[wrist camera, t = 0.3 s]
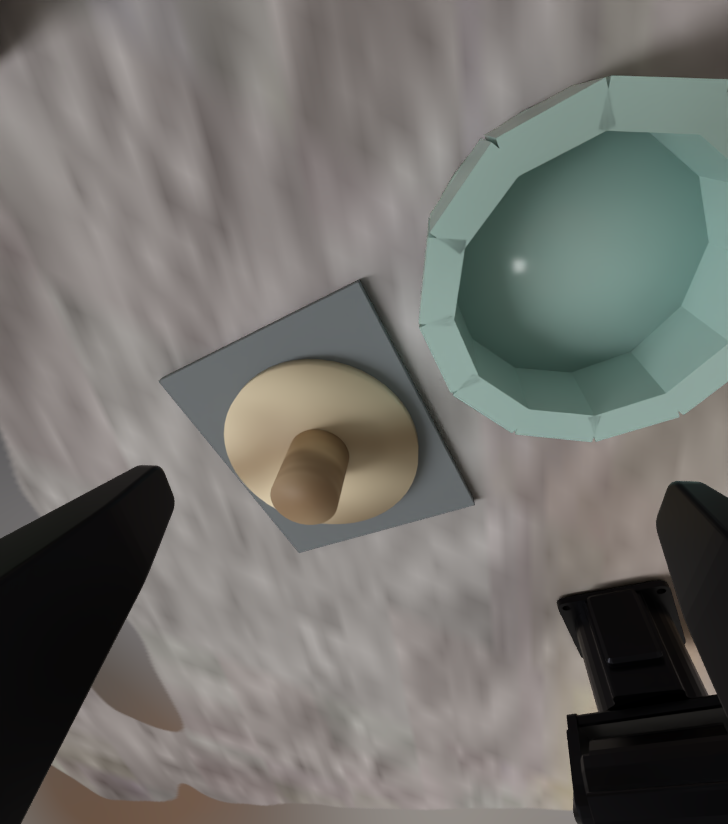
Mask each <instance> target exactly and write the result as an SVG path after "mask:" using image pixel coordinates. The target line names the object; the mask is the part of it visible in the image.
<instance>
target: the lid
mask: <svg viewBox="0 0 728 824" xmlns="http://www.w3.org/2000/svg"><path fill="white" fill-rule="evenodd" d="M224 441H225V447H226V451H227V455H228V457H229V460H230V462H231V465H232V466H233V468H234V470H235V472H236V473H237V475H238V476H239V478H240V479H241V480H242V482H243V483H244V484H245V485H246V486H247V487H248V488H249V489H250V490H251V491H252V492H253V493H254V494H255V495H256V496H257V497H259V498H260V499H261V500H263V501H264V502H265V503H267V504H268V505H270V506H272V507H274V508H275V509H276V510H277V511H278V512H279V513H280V514H281V515H283V516H284V517H285V518H287V519H289V520H291V521H293V522H296V523H300V524H305V525H316V524H321V523H322V524H348V523H355V522H360V521H364V520H367V519H370V518H373V517H376V516H378V515H380V514H382V513H384V512H385V511H387V510H388V509H390V508H391V507H393V506H394V505H395V504H396V503H397V502H399V501H400V500H401V499H402V497H403V496H404V495H405V494H406V493H407V491H408V490H409V488H410V486H411V485H412V483H413V480H414V478H415V475H416V471H417V466H418V448H419V445H418V436H417V432H416V428H415V425H414V423H413V420H412V418H411V416H410V414H409V412H408V411H407V409H406V407H405V406H404V404H403V403H402V402H401V401H400V399H399V398H398V397H397V396H396V395H395V394H394V393H393V392H392V391H391V390H390V389H389V388H388V387H387V386H386V385H384V384H383V383H382V382H380V381H379V380H377V379H376V378H374V377H373V376H371V375H369V374H367V373H365V372H364V371H362V370H359V369H357V368H354V367H352V366H349V365H346V364H342V363H339V362H335V361H329V360H322V359H301V360H292V361H288V362H283V363H280V364H277V365H274V366H272V367H269V368H267V369H266V370H264V371H262V372H260V373H258V374H257V375H256V376H255V377H253V378H252V379H251V380H250V381H249V382H248V383H247V384H246V385H245V386H244V387H243V388H242V389H241V391H240V392H239V394H238V395H237V397H236V398H235V400H234V401H233V403H232V404H231V406H230V408H229V411H228V413H227V416H226V420H225V426H224Z"/></svg>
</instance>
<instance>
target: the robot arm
mask: <svg viewBox="0 0 728 824" xmlns="http://www.w3.org/2000/svg"><path fill="white" fill-rule="evenodd" d="M173 509H174V496H173V493H172V491H171V488H170V486H169V483H168V480H167V478H166V475H165V473H164V471H163V469H162V468H161V467H159V466H152V465H140V466H136V467H134V468H132V469H131V470H129V471H127V472H125V473H123V474H121V475H119V476H117V477H115V478H114V479H112V480H110V481H108V482H106V483H104V484H102V485H100V486H99V487H97V488H95V489H93V490H91V491H89V492H87V493H85V494H83V495H82V496H80V497H78V498H76V499H74V500H72V501H70V502H68V503H66V504H65V505H63V506H61V507H59V508H57V509H55V510H53V511H51V512H50V513H48V514H46V515H44V516H42V517H40V518H38V519H36V520H35V521H33V522H31V523H29V524H27V525H25V526H23V527H21V528H19V529H17V530H16V531H14V532H12V533H10V534H8V535H6V536H4V537H3V538H1V539H0V824H21V823H22V821H23V819H24V817H25V815H26V813H27V811H28V809H29V807H30V805H31V803H32V801H33V799H34V797H35V795H36V793H37V792H38V789H39V788H40V786H41V784H42V782H43V780H44V778H45V776H46V774H47V772H48V770H49V768H50V766H51V764H52V762H53V760H54V758H55V756H56V754H57V753H58V751H59V749H60V747H61V745H62V743H63V741H64V739H65V737H66V735H67V733H68V731H69V729H70V727H71V725H72V723H73V721H74V719H75V717H76V716H77V714H78V712H79V710H80V708H81V706H82V704H83V702H84V700H85V698H86V696H87V694H88V692H89V690H90V688H91V686H92V684H93V682H94V680H95V678H96V677H97V675H98V673H99V671H100V669H101V667H102V665H103V663H104V661H105V659H106V657H107V655H108V653H109V651H110V649H111V647H112V645H113V643H114V641H115V640H116V638H117V636H118V633H119V632H120V630H121V628H122V626H123V624H124V622H125V620H126V618H127V616H128V614H129V612H130V610H131V608H132V606H133V604H134V602H135V601H136V599H137V597H138V595H139V593H140V591H141V589H142V586H143V584H144V582H145V580H146V578H147V575H148V573H149V571H150V569H151V566H152V563H153V561H154V558H155V556H156V553H157V551H158V548H159V546H160V543H161V541H162V538H163V535H164V533H165V530H166V528H167V525H168V523H169V520H170V518H171V515H172V512H173ZM656 528H657V533H658V536H659V540H660V543H661V546H662V549H663V553H664V556H665V559H666V562H667V565H668V569H669V572H670V575H671V578H672V582H673V585H674V588H675V591H676V595H677V598H678V601H679V604H680V607H681V610H682V613H683V616H684V619H685V621H686V624H687V626H688V629H689V631H690V634H691V636H692V638H693V641H694V643H695V645H696V647H697V650H698V652H699V654H700V657H701V659H702V661H703V663H704V666H705V668H706V670H707V672H708V675H709V677H710V679H711V682H712V684H713V686H714V688H715V691H716V693H717V694H716V695H708V693H707V691H706V689H705V687H704V685H703V683H702V681H701V679H700V676H699V674H698V672H697V670H696V668H695V666H694V664H693V662H692V660H691V658H690V656H689V654H688V651H687V649H686V647H685V645H684V644H685V643H686V641H685V637H684V634H683V630H682V627H681V624H680V620H679V617H678V613H677V610H676V606H675V603H674V599H673V596H672V592H671V589H670V587H669V585H668V583H667V582H665V581H662V580H657V581H652V582H646V583H641V584H635V585H630V586H625V587H619V588H614V589H608V590H603V591H598V592H592V593H587V594H581V595H576V596H571V597H565V598H561V599H559V600H558V601H557V606H558V610H559V612H560V614H561V616H562V618H563V620H564V622H565V624H566V626H567V628H568V631H569V633H570V635H571V637H572V639H573V641H574V643H575V645H576V647H577V649H578V651H579V654H580V656H581V657H582V658H583V659H584V663H585V666H586V670H587V673H588V677H589V680H590V684H591V688H592V691H593V695H594V698H595V702H596V705H597V709H598V712H595V713H589V714H582V715H577V714H569V715H567V724H568V730H567V740H568V749H569V757H570V766H571V775H572V783H573V813H574V817H575V820H576V822H577V824H728V498H727V497H726V496H724V495H722V494H721V493H719V492H717V491H716V490H714V489H712V488H711V487H709V486H707V485H706V484H704V483H701V482H691V481H675V482H672V483H671V484H670V485H669V486H668V488H667V491H666V493H665V496H664V499H663V502H662V504H661V507H660V510H659V513H658V515H657V520H656Z"/></svg>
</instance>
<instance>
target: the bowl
mask: <svg viewBox="0 0 728 824" xmlns="http://www.w3.org/2000/svg"><path fill="white" fill-rule="evenodd" d="M484 136H485V139H481V138H480V140H479V141H478V143H477V144H476V146H475V147H474V149H473V150H472V152H471V153H470V154H469V155H468V156H467V157H466V159H465V160H464V161H463V163H462V164H461V165H460V167H459V168H458V169H457V171H456V172H455V173H454V175H453V176H452V178H451V180H450V181H449V183H448V185H447V187H446V188H445V190H444V192H443V193H442V196H441V198H440V200H439V201H438V203H437V204H436V206H435V207H434V209H433V210H432V212H431V213H430V218H429V220H428V230H427V239H426V248H425V258H424V268H423V277H422V287H421V298H420V312H419V324H420V326H419V328H420V330H421V332H422V334H423V336H424V339H425V341H426V343H427V345H428V347H429V349H430V351H431V353H432V355H433V357H434V359H435V361H436V363H437V365H438V368H439V370H440V372H441V374H442V376H443V378H444V380H445V382H446V384H447V386H448V388H449V390H450V392H451V393H452V392H453V396H455V397H456V398H458V399H459V400H461V401H462V402H464V403H466V404H467V405H469V406H470V407H472V408H473V409H475V410H477V411H478V412H480V413H481V414H483V415H484V416H486V417H487V418H489V419H491V420H492V421H494V422H495V423H497V424H498V425H500V426H502V427H503V428H505V429H506V430H508V431H509V432H511V433H513V432H514V431H515V434H517V435H526V436H536V437H546V438H556V439H566V440H576V441H586V442H592V440H593V437H594V439H595V441H600V440H603V439H607V438H610V437H613V436H617V435H620V434H624V433H627V432H630V431H634V430H637V429H641V428H644V427H647V426H651V425H654V424H658V423H661V422H664V421H668V420H671V419H675V418H678V417H679V413H678V411H679V412H680V413H682V414H683V415H684V414H686V413H687V412H688V411H690V410H691V409H692V408H694V407H695V406H696V405H697V404H699V403H700V402H701V401H703V400H704V399H705V398H707V397H708V396H709V395H711V394H712V393H713V392H715V391H716V390H717V389H719V388H720V387H721V386H723V385H724V384H725V383H727V382H728V79H705V78H674V77H644V76H613V75H612V76H608V77H604V78H600V79H596V80H592V81H588V82H584V83H580V84H576V85H573V86H570V87H568V88H567V89H565V90H563V91H561V92H559V93H558V94H556V95H554V96H552V97H551V98H549V99H547V100H545V101H542V102H540V103H538V104H536V105H534V106H532V107H530V108H528V109H526V110H524V111H522V112H520V113H519V114H517V115H516V116H514V117H512V118H511V119H509V120H508V121H506V122H505V123H503V124H502V125H500V126H499V127H497V128H496V129H494V130H492V131H490V132H489V133H487V134H485V135H484Z"/></svg>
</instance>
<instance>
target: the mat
mask: <svg viewBox="0 0 728 824" xmlns="http://www.w3.org/2000/svg"><path fill="white" fill-rule="evenodd" d="M301 359H322V360H329V361H335V362H339V363H342V364H346V365H349V366H352V367H354V368H357V369H359V370H362V371H364V372H365V373H367V374H369V375H371V376H373V377H374V378H376V379H377V380H379V381H380V382H382V383H383V384H384V385H386V386H387V387H388V388H389V389H390V390H391V391H392V392H393V393H394V394H395V395H396V396H397V397H398V398H399V399H400V401H401V402H402V403H403V404H404V406H405V407H406V409H407V411H408V412H409V414H410V416H411V418H412V420H413V423H414V425H415V428H416V432H417V436H418V445H419V448H418V466H417V471H416V475H415V478H414V480H413V483H412V485H411V486H410V488H409V490H408V491H407V493H406V494H405V495H404V496H403V497H402V499H401V500H400V501H399V502H397V503H396V504H395V505H394V506H393V507H391V508H390V509H388V510H387V511H385V512H384V513H382V514H380V515H378V516H376V517H373V518H370V519H367V520H364V521H360V522H355V523H348V524H322V523H321V524H316V525H305V524H300V523H296V522H293V521H291V520H289V519H287V518H285V517H284V516H283V515H281V514H280V513H279V512H278V511H277V510H276V509H275V508H274V507H272V506H270V505H268V504H267V503H265V502H264V501H263V500H261V499H260V498H259V497H257V496H256V495H255V494H254V493H253V492H252V491H251V490H250V489H249V488H248V487H247V486H246V485H245V484H244V483H243V482H242V480H241V479H240V478H239V476H238V475H237V473H236V472H235V470H234V468H233V466H232V465H231V462H230V460H229V457H228V455H227V451H226V447H225V441H224V426H225V420H226V416H227V413H228V411H229V408H230V406H231V404H232V403H233V401H234V400H235V398H236V397H237V395H238V394H239V392H240V391H241V389H242V388H243V387H244V386H245V385H246V384H247V383H248V382H249V381H250V380H251V379H252V378H253V377H255V376H256V375H257V374H258V373H260V372H262V371H264V370H266V369H267V368H269V367H272V366H274V365H277V364H280V363H283V362H288V361H292V360H301ZM159 383H160V384H161V385H162V386H163V388H164V389H165V390H166V391H167V392H168V394H169V395H170V396H171V397H172V399H173V400H174V401H175V402H176V403H177V405H178V406H179V407H180V408H181V410H182V411H183V412H184V413H185V414H186V416H187V417H188V418H189V419H190V421H191V422H192V423H193V424H194V425H195V427H196V428H197V429H198V430H199V431H200V433H201V434H202V435H203V436H204V438H205V439H206V440H207V441H208V442H209V444H210V445H211V446H212V447H213V449H214V450H215V451H216V452H217V453H218V455H219V456H220V457H221V458H222V460H223V461H224V462H225V463H226V464H227V466H228V467H229V468H230V469H231V471H232V472H233V473H234V474H235V475H236V477H237V478H238V479H239V480H240V482H241V483H242V484H243V485H244V486H245V488H246V489H247V490H248V491H249V493H250V494H251V495H252V496H253V497H254V499H255V500H256V501H257V502H258V504H259V505H260V506H261V507H262V508H263V510H264V511H265V512H266V513H267V515H268V516H269V517H270V518H271V519H272V521H273V522H274V523H275V524H276V525H277V527H278V528H279V529H280V530H281V532H282V533H283V534H284V535H285V536H286V538H287V539H288V540H289V541H290V543H291V544H292V545H293V546H294V547H295V549H296V550H297V551H298V552H299V553H301V552H304V551H308V550H312V549H315V548H319V547H323V546H326V545H330V544H334V543H337V542H341V541H345V540H348V539H352V538H356V537H359V536H363V535H367V534H370V533H374V532H378V531H381V530H385V529H389V528H392V527H396V526H400V525H403V524H407V523H411V522H414V521H418V520H422V519H425V518H429V517H433V516H436V515H440V514H444V513H447V512H451V511H455V510H458V509H462V508H466V507H469V506H473V505H475V503H474V499H473V497H472V495H471V493H470V491H469V489H468V487H467V485H466V483H465V481H464V479H463V478H462V476H461V474H460V472H459V470H458V468H457V466H456V464H455V462H454V460H453V458H452V456H451V455H450V453H449V451H448V449H447V447H446V445H445V443H444V441H443V439H442V437H441V435H440V433H439V432H438V430H437V428H436V426H435V424H434V422H433V420H432V418H431V416H430V414H429V412H428V410H427V408H426V407H425V405H424V403H423V401H422V399H421V397H420V395H419V393H418V391H417V389H416V387H415V385H414V384H413V382H412V380H411V378H410V376H409V374H408V372H407V370H406V368H405V366H404V364H403V362H402V361H401V359H400V357H399V355H398V353H397V351H396V349H395V347H394V345H393V343H392V341H391V339H390V338H389V336H388V334H387V332H386V330H385V328H384V326H383V324H382V322H381V320H380V318H379V316H378V314H377V313H376V311H375V309H374V307H373V305H372V303H371V301H370V299H369V297H368V295H367V293H366V291H365V290H364V288H363V286H362V284H361V282H360V280H357V281H355V282H353V283H351V284H349V285H347V286H345V287H343V288H341V289H339V290H337V291H335V292H333V293H331V294H329V295H327V296H325V297H323V298H321V299H319V300H317V301H315V302H313V303H311V304H309V305H307V306H305V307H303V308H301V309H299V310H297V311H295V312H293V313H291V314H289V315H287V316H285V317H283V318H281V319H279V320H277V321H275V322H273V323H271V324H269V325H267V326H265V327H263V328H261V329H259V330H257V331H255V332H253V333H251V334H249V335H247V336H245V337H243V338H241V339H239V340H237V341H235V342H233V343H231V344H229V345H227V346H225V347H223V348H221V349H219V350H217V351H215V352H213V353H211V354H209V355H207V356H205V357H203V358H201V359H199V360H197V361H195V362H193V363H191V364H189V365H187V366H185V367H183V368H181V369H179V370H177V371H175V372H173V373H171V374H169V375H167V376H165V377H163V378H161V379H160V380H159Z"/></svg>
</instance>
